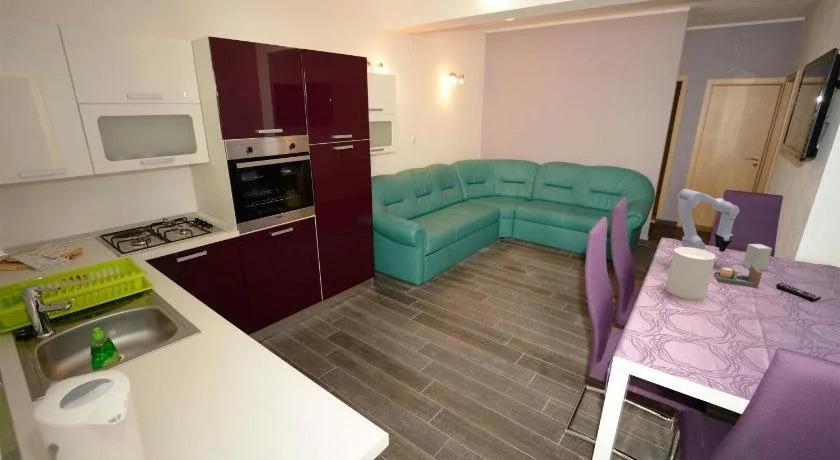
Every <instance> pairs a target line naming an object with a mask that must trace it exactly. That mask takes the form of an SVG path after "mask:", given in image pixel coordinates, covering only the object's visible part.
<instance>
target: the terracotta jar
mask: <svg viewBox="0 0 840 460" xmlns="http://www.w3.org/2000/svg"><path fill="white" fill-rule="evenodd" d="M719 272H720V278H726V279H732V276H733V272H734V271H733V269H732V268H731V267H729V266H728V267H727V266H723V267H722V268H721V269H720V271H719Z"/></svg>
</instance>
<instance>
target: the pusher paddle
mask: <svg viewBox="0 0 840 460" xmlns="http://www.w3.org/2000/svg"><path fill="white" fill-rule="evenodd" d="M732 269H733V271H734V272H733V276H732V279H733V280H738V279H737V277H740V276H741V275H742V274H740V273H739V270H738V269H737V268H736V267H735V266H732Z"/></svg>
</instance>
